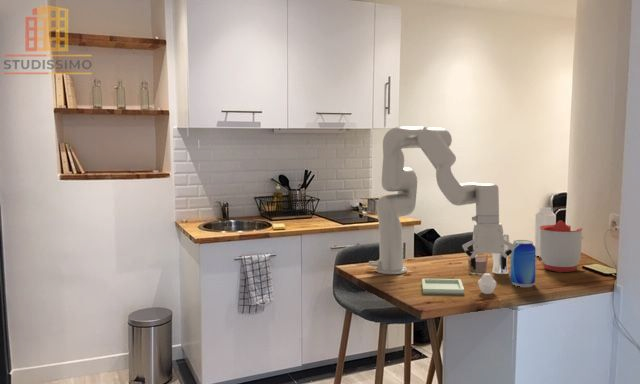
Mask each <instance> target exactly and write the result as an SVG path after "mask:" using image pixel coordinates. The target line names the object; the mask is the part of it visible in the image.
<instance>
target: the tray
mask: <svg viewBox="0 0 640 384" xmlns="http://www.w3.org/2000/svg"><path fill="white" fill-rule="evenodd" d="M421 286H422V294H423V295H456V296H457V295H458V296H459V295H460V296H462V295H465V288H464V285H463V282H462V279H461V278H421Z"/></svg>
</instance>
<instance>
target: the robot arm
mask: <svg viewBox="0 0 640 384" xmlns="http://www.w3.org/2000/svg"><path fill="white" fill-rule="evenodd" d="M452 142H453V139H452V135H451V133H450V132H449V130H447V129H446V128H442V127H429V126H396V127H392V128H391V129H389V130H388V131H386V133H385V134H384V136H383V139H382V165H381V167H382V169H381V187H382V189H383V190H384V191H386V192H389V193H391V192H397V193H391V194H385V195H383V196H381V197H380V198H379V199H378V200H377V201H376V205H375V211H376V213H377V221H378V235H379V236H378V238H379V239H378V240H379V242H378V243H379V245H378V246H379V248H378V249H379V259H377V260H369V261H368V266H371V267H376V269H375V271H376V272H377V274H378V273H379V274H383V275H401V274H406V273H407V270H408V268H407V267H406V266H404V243H403V242H404V241H403V239H404V238H403V236H404V235H403V225H402V222H401V220H400V219H399V218H400V217H405V216H409V215H411V214H412V213H413V212H414V211H415V208H416V203H417V193H418V192H417V190H418V177H417V174H416V172H415V170H414V169H413V168H411V167H407V166H405V156H404V152H403V150H402V149H421V151H422V152H423V154H424V155H425V156H426V158H427V159H428V160H429V162H430V163H431V165H432V167H434V169H435V177H436V182H437V183H436V184H437V186H438V187H439V190H440V191H441V193H442V194H443V196H444V197H445V199H447V201H448V202H450V204H452V205H453V206H459V207H460V206H465V205H473V204H475V211H476V212H475V215H474V216H471V221H472V222H473V221H474V222H475V223H474V224H473V225H474V226H473V231H472V239H471V240H470V241H468V242H466V243H464V244H462V246H461V247H462V249H463V250H464V252H465V254H466V255H468V256H469V258H470V267H471V268H472V270H473V271H475V270H477V268H476V267H477V266H476V265H477V264H476V262H477V261H476V259H477V258H476V256H477V255H478V254H483V255H484V254H492V253H501V254H502V257H501V268H502V269H503V270H505V267H508V261H507V257H508V258H509V256H511V253H512V250H513V249H514V247H515V245H514V244H513V243H512V242H510V241H509V242H508V241H506V240H504V234H505V233H504V229H503V224H502V223H500V203H499V201H500V200H499V196H500V195H499V193H500V191H499V186H498V185H497V184H495V183H478V182H465V183H459V181H458V180H457V179H456V178H455V175H454V174H453V173H452V168H451V167H452V166H453V165H454V164H455V163H456V160H457V157H456V155H455V153H454V152H453V150H452V149H451V148H450V147H451V145H452ZM504 244H505V245H507V246H509V249H508V250H507V251H506V252H504ZM470 246H472V251H470V250H469V249H468V248H469V247H470Z"/></svg>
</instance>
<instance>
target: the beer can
mask: <svg viewBox="0 0 640 384" xmlns="http://www.w3.org/2000/svg"><path fill="white" fill-rule="evenodd" d="M512 244H514V245H515V247H514V249H513V250H512V253H511V254H510V282H511V283H512V286H514V285H515V286H514V287H517V286H520V287H519V288H532V287H533V286H534V284H535V283H536V256H535V252H536V249H535V245H534V242H533V241H532V240H528V239H514V240H513V243H512Z"/></svg>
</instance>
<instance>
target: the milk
mask: <svg viewBox="0 0 640 384" xmlns="http://www.w3.org/2000/svg"><path fill="white" fill-rule="evenodd" d="M556 223H557V216H556V214H555V213H554V212H553V211H552V207H551V206H549V207H540V208H539V212H537V213H536V214H535V231H534V232H535V233H534V234H535V235H534V237H535V238H534V239H535V240H534V241H535V245H534V246H535V249H536V252H535V255H536V256H535V257H537V256H539V257H538V258H541V253H540V227H541V226H544V225H555V224H556Z"/></svg>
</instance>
